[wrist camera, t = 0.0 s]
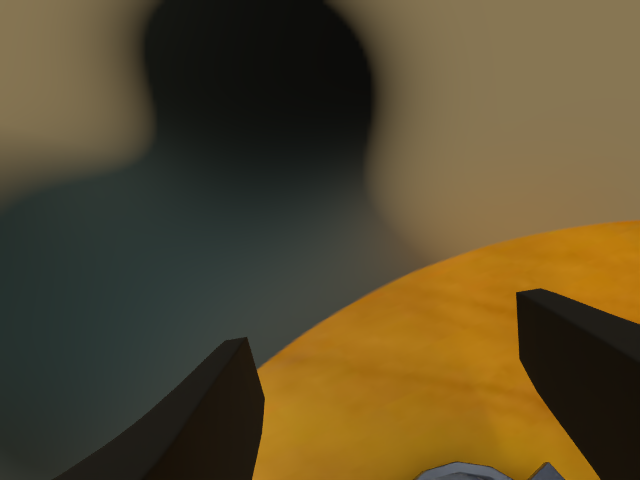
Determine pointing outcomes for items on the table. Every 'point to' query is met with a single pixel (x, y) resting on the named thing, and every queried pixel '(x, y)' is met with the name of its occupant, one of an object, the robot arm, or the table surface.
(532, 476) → the pot
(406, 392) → the table surface
